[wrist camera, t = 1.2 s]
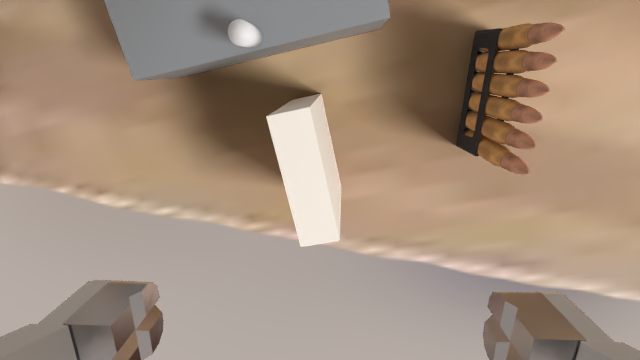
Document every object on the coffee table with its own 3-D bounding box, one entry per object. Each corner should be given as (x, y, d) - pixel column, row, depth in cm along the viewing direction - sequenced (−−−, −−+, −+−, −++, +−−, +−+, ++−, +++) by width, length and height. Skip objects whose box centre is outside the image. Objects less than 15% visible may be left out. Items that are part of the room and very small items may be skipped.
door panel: (321, 93, 34) (309, 106, 22) (341, 186, 37) (339, 240, 25) (292, 99, 34) (266, 116, 23) (314, 191, 37) (300, 247, 26)
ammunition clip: (475, 31, 31) (551, 10, 20) (496, 31, 31) (584, 11, 20) (456, 145, 34) (511, 185, 23) (474, 146, 34) (539, 186, 23)
